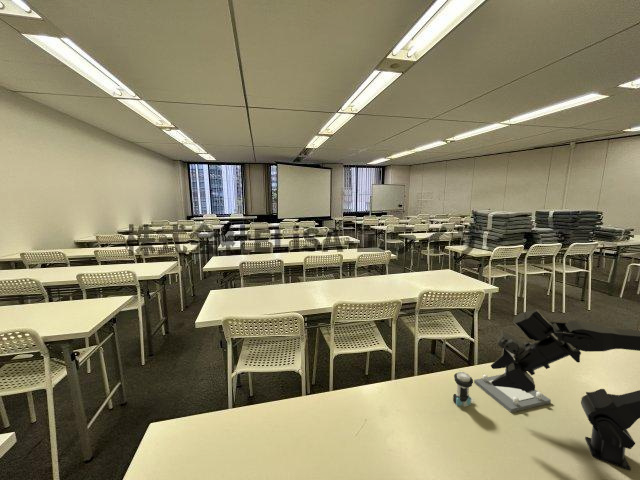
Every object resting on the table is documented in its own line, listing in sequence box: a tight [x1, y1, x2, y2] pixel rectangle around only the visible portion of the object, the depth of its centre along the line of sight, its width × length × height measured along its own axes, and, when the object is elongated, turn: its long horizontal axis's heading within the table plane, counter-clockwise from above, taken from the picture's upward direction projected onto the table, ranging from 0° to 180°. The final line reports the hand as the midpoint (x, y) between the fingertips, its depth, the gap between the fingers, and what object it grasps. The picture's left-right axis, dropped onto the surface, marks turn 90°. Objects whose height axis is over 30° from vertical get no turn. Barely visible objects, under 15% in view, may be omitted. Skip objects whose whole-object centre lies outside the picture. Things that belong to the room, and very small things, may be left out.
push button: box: [452, 371, 475, 408], centre depth 82 cm, size 7×5×10 cm
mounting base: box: [473, 369, 552, 413], centre depth 87 cm, size 14×16×3 cm
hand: (492, 375), depth 77 cm, fingers open, 9 cm apart
